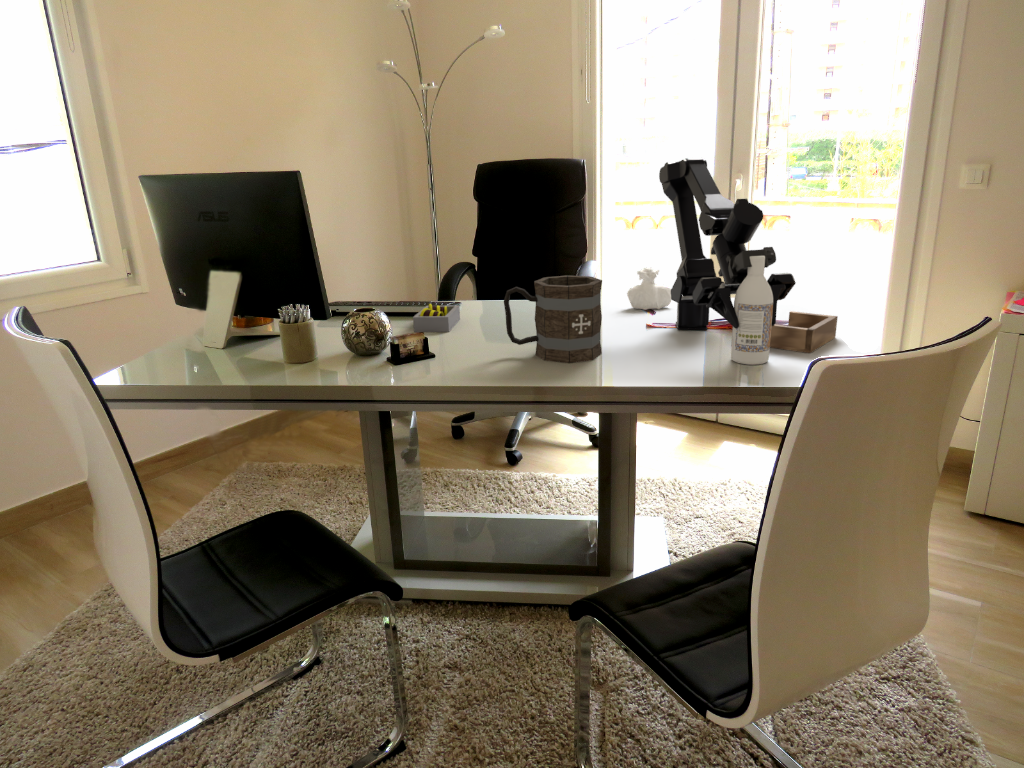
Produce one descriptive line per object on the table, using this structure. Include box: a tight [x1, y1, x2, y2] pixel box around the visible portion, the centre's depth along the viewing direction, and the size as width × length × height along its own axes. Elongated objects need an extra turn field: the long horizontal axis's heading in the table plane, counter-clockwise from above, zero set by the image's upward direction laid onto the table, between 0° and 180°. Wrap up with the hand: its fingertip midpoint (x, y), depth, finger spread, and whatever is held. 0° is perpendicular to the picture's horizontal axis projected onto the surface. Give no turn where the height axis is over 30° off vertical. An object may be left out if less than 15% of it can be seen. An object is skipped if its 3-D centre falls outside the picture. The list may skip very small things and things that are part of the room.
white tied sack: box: [626, 267, 672, 310], centre depth 189 cm, size 12×8×11 cm
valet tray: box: [412, 305, 461, 333], centre depth 176 cm, size 8×13×4 cm, turn 173°
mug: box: [503, 274, 603, 364], centre depth 146 cm, size 20×14×15 cm
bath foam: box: [730, 256, 773, 366], centre depth 137 cm, size 7×7×20 cm
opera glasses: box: [420, 303, 448, 316], centre depth 176 cm, size 10×5×5 cm, turn 173°
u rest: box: [770, 310, 838, 354], centre depth 151 cm, size 10×15×5 cm, turn 140°
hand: (755, 325), depth 136 cm, fingers closed on bath foam, 7 cm apart
